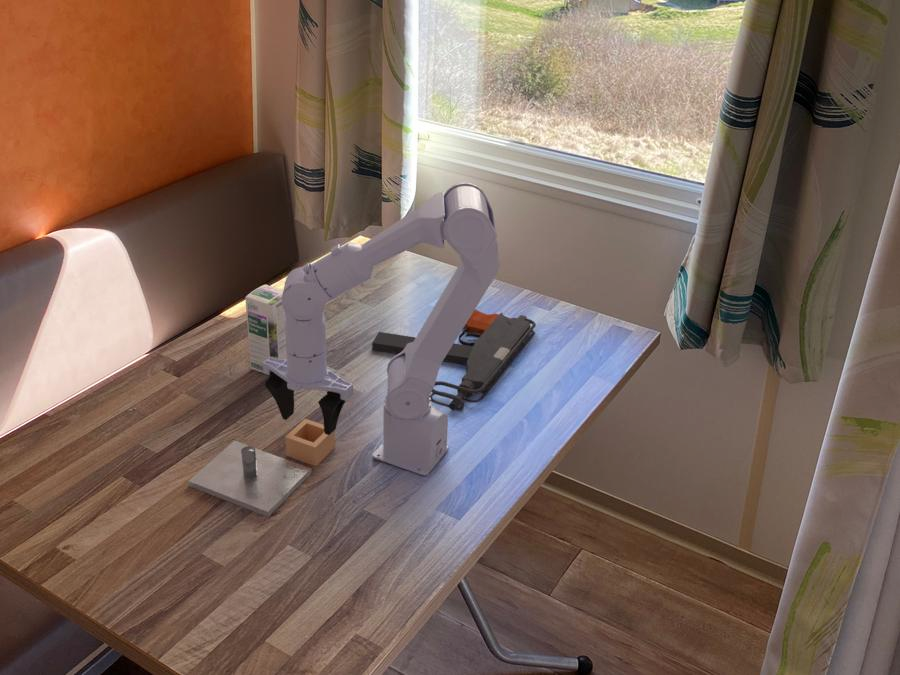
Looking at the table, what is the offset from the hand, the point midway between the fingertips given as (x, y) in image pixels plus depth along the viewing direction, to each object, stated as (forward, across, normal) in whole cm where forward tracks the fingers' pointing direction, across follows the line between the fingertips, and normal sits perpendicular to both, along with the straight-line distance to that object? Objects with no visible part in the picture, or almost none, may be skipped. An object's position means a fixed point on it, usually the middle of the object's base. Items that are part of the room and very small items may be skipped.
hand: (309, 423), depth 148 cm
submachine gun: (+6, +5, +36) cm, 37 cm away
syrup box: (+6, -19, +17) cm, 26 cm away
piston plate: (+5, -4, -10) cm, 12 cm away
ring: (+5, 0, 0) cm, 5 cm away
